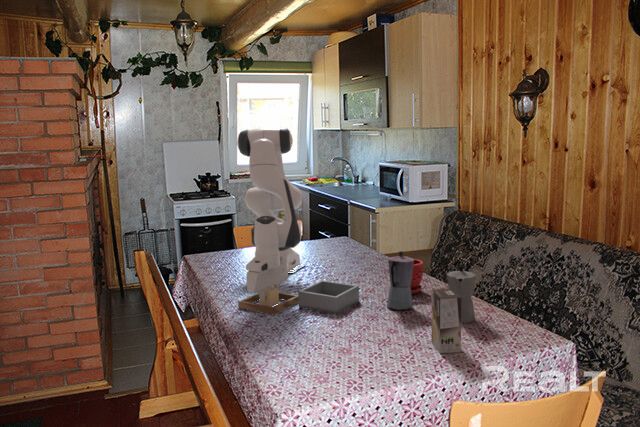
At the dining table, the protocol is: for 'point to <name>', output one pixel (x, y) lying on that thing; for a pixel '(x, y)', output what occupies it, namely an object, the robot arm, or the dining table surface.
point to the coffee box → (446, 320)
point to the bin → (328, 296)
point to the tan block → (271, 297)
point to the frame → (249, 305)
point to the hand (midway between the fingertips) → (269, 298)
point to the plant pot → (416, 276)
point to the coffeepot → (463, 291)
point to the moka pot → (400, 282)
